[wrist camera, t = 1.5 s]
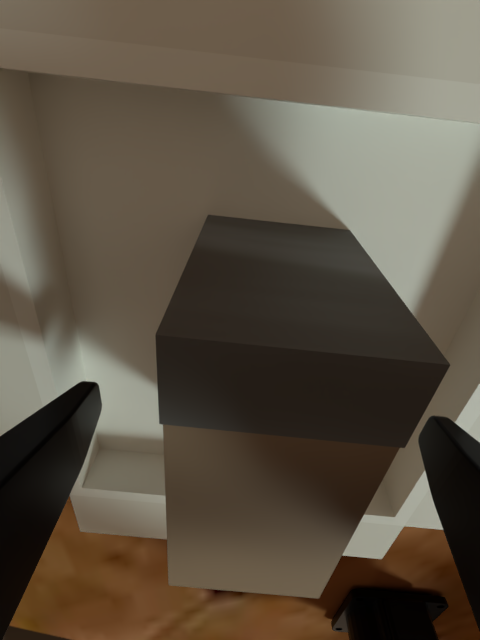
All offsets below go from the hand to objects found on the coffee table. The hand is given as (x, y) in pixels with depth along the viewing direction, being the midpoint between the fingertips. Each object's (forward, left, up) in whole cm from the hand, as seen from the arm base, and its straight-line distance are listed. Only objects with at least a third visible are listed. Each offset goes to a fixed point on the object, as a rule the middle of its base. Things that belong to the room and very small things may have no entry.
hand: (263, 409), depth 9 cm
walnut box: (0, 0, -3) cm, 3 cm away
